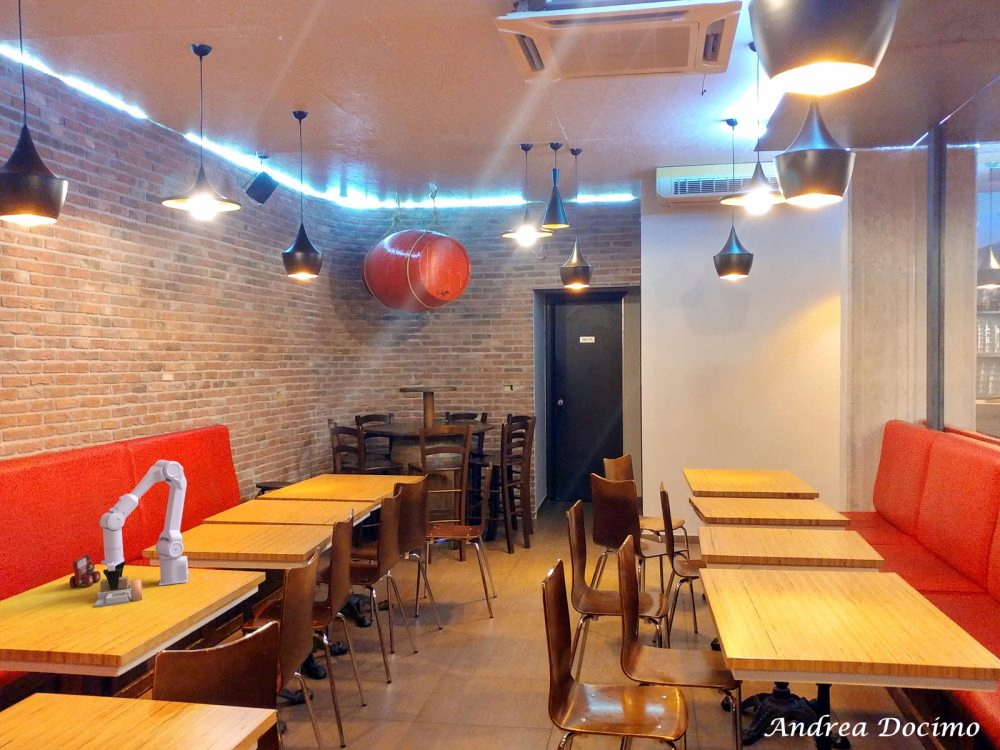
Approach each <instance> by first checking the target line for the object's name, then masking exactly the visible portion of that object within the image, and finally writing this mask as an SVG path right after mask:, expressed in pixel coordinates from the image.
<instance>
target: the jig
mask: <svg viewBox="0 0 1000 750" xmlns="http://www.w3.org/2000/svg"><path fill="white" fill-rule="evenodd" d="M131 601H132V597H131V583H130V584H129V589H126V590H118V591H110V592H102V593H101V588H100V589H99V590H98V593H97V600H96V602H95V603H94V606H93V608H99V607H109V606H115V605H123V604H129V603H130V602H131Z"/></svg>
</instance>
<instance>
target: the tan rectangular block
mask: <svg viewBox="0 0 1000 750" xmlns="http://www.w3.org/2000/svg"><path fill="white" fill-rule="evenodd" d="M99 585H100V587H99V588H100V589H101V593H102V592H110V591H118V590H126V589H129V585H130V584H129V576H122V577H119V585H118V589H116V590H111V589H110V586H109V583H108V580H107V578H104V579H103V578H102V579H100V581H99Z"/></svg>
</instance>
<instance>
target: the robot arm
mask: <svg viewBox="0 0 1000 750" xmlns="http://www.w3.org/2000/svg"><path fill="white" fill-rule="evenodd" d="M160 482H165V483H166V484H167V485H168V486H169V493H168V500H167V506H166V507H167V508H166V513H165V521H164V527H163V531H162V532H161V533H160V534H159V538H158V540H157V541H156V544H155V551H156V553H158V555H159V557H158V559H159V572H160V574H159V575H160V580H159V582H158V586H159V587H160V586H161V587H162V586H167V585H169V586H170V585H176V584H184V583H185V584H186V583H188V581H189V577H190V571H189V566H188V565H189V564H188V556H187V555H182V554H183V552H184V550H185V547H184V546H185V545H184V544H183V535H182V533H181V527H182V526H181V525H182V519H183V512H184V511H183V510H184V503H185V498H186V497H185V496H186V491H187V486H188V485H187V484H188V483H187V482H188V481H187V479H186V477H185V473H184V467H183V465H181V464H180V463H179V462H178V461H175V460H165V459H159V460H157V461H155V462H154V464H153V465H152V466H151V467H150V468H149V470H147V473H146V474H145V475H144V476H143V477H142V479H141V480H140V481H139V483H137V485H136V486H135V487H134V488H133V490H132V491H131V492H129V493H126V494H124V495H123V496H122V495H120V496H119V498H118V501H117V502H116V503H115V504H114V506H112V507H110V508H109V509H108V512H104V513H103V514H102V516H101V518H100V520H99V523H98V524H99V525H100V527H101V528H102V531H103V533H102V535H103V536H102V537H103V549H104V560H101V562H100V564H101V565H105V566H106V567H107V568H105V569H103V570H102V571H103V572H102V573H103V574H104V576H105V577H106V578H105V579H107V580H108V583H109V586H110V589H111V590H116V589H118V585H119V577H123V574H124V573H123V571H124V568H125V566H126V565H125V564H126V560H125V558H124V549H123V548H124V545H123V532H122V530H123V529H122V527H123V526H124V525H125V522H126V518H128V517H129V516H130V514H131V513H132V512H133V511H134V510H135V509H136V508H137V507H138V506H139V499H141V497H143V496H144V494H146V493H147V491H149V489H150V488H151V487H152V486H154V484H156V483H160Z"/></svg>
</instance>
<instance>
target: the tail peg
mask: <svg viewBox="0 0 1000 750" xmlns="http://www.w3.org/2000/svg"><path fill="white" fill-rule="evenodd" d="M130 584H131V597H132V598H131V602H139V601H142V600H143V592H142V591H143V590H142V589H143V588H142V580H141V579H133V580H131V581H130Z"/></svg>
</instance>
